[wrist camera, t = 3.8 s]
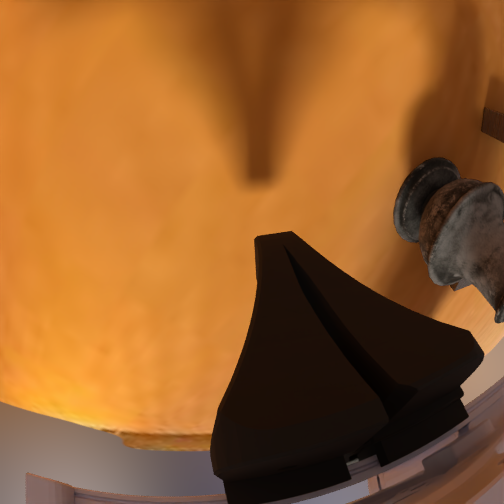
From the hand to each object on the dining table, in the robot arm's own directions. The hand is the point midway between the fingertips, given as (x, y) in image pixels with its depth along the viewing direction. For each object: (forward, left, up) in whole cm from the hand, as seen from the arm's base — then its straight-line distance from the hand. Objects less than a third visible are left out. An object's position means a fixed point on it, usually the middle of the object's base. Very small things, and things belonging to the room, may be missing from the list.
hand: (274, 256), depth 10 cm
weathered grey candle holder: (0, -10, -3) cm, 10 cm away
